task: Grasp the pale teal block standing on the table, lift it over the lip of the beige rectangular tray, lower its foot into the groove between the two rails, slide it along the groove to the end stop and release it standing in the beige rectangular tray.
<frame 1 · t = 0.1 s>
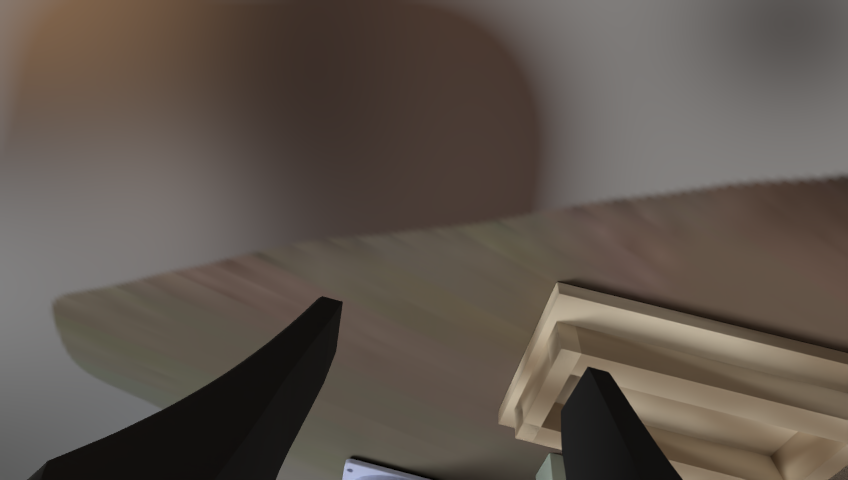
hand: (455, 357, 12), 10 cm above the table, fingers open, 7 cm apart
beige rectangular tray: (665, 389, 25), on the table
pale teal block: (597, 477, 30), on the table
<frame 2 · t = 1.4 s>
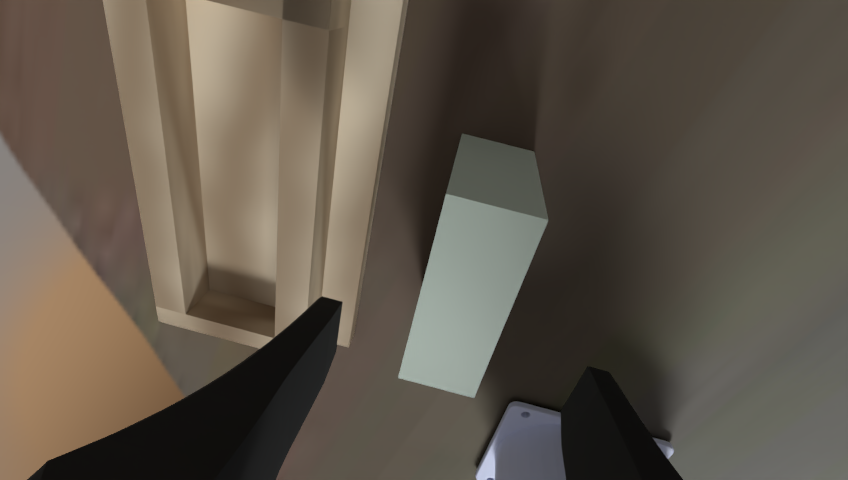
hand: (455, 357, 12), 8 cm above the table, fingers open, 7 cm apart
beige rectangular tray: (259, 171, 19), on the table
pale teal block: (472, 225, 19), on the table
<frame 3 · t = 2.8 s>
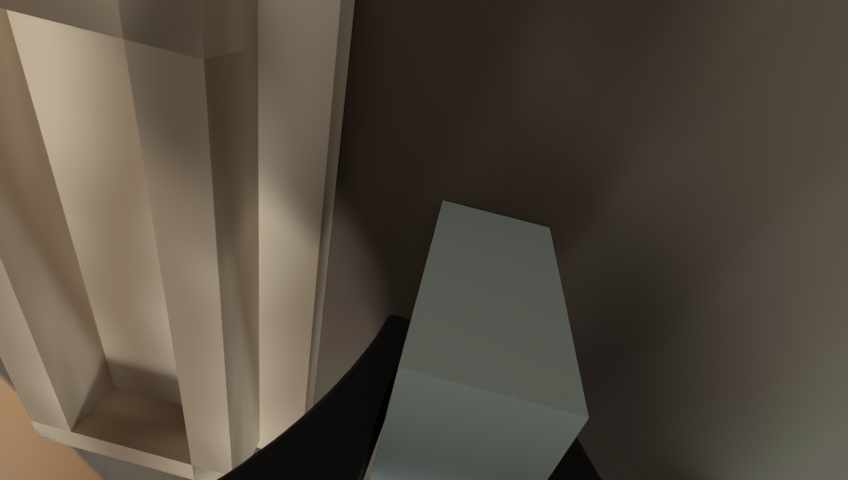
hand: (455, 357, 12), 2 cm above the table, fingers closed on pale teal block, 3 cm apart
beige rectangular tray: (163, 242, 14), on the table
pale teal block: (459, 320, 14), on the table, touching gripper
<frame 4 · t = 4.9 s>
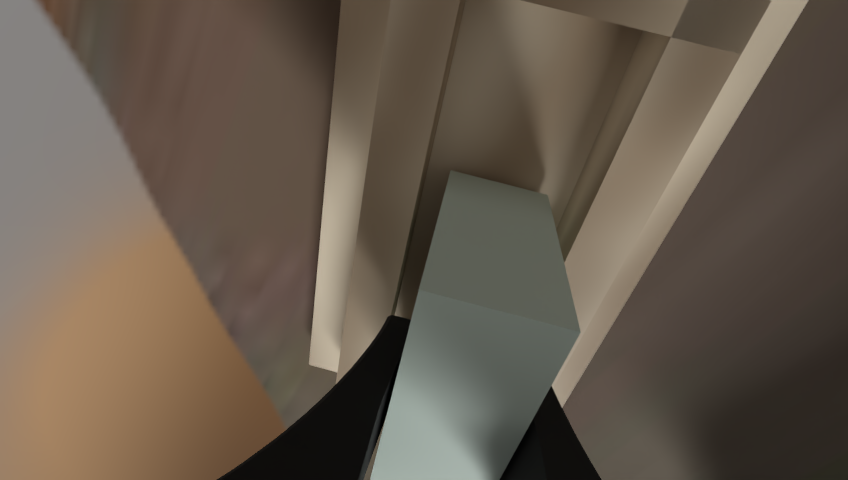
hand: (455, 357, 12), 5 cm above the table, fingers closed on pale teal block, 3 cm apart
beige rectangular tray: (481, 224, 15), on the table
pale teal block: (465, 285, 15), point 2 cm above the table, touching gripper
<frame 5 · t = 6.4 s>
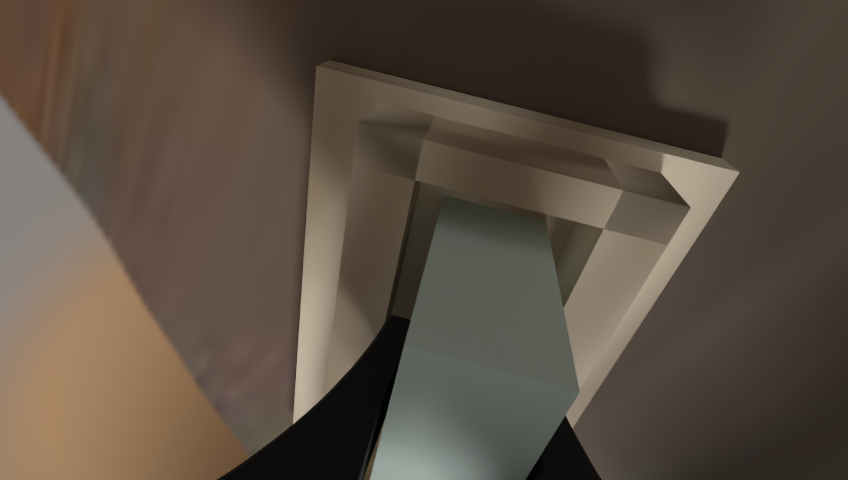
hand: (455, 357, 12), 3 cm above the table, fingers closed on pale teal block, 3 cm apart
beige rectangular tray: (450, 330, 16), on the table
pale teal block: (460, 311, 14), point 1 cm above the table, touching gripper, beige rectangular tray
when the fingers open (3 cm above the table, at t = 7.2 s): pale teal block stays where it is, resting on beige rectangular tray.
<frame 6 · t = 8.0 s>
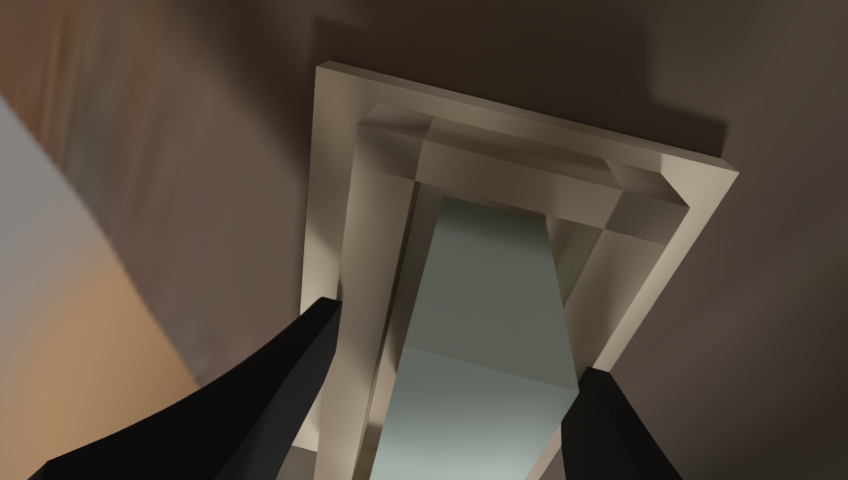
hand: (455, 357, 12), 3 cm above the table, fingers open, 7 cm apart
beige rectangular tray: (450, 330, 16), on the table
pale teal block: (460, 311, 14), point 1 cm above the table, touching beige rectangular tray
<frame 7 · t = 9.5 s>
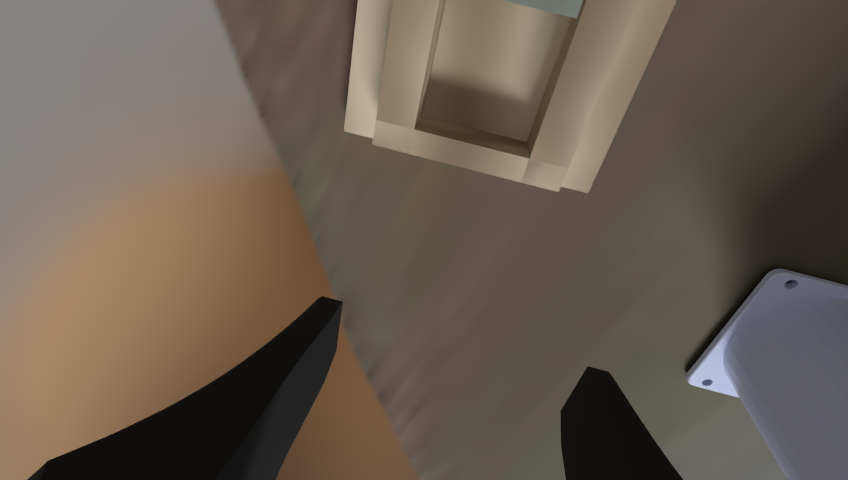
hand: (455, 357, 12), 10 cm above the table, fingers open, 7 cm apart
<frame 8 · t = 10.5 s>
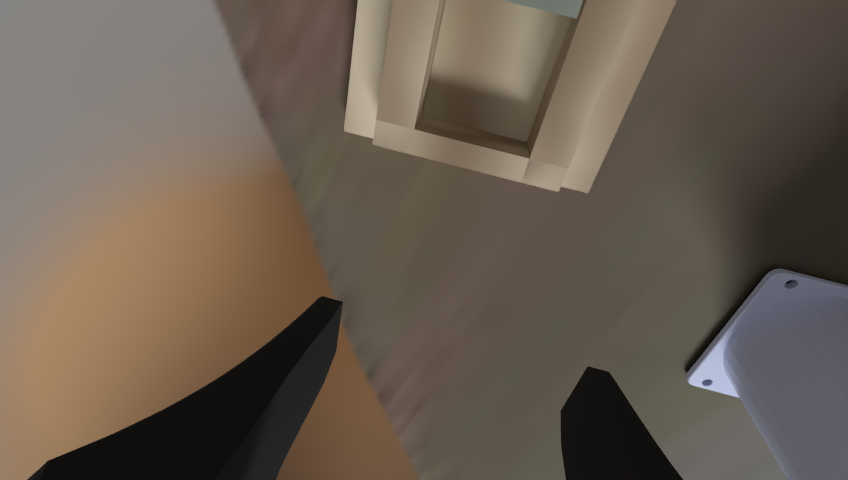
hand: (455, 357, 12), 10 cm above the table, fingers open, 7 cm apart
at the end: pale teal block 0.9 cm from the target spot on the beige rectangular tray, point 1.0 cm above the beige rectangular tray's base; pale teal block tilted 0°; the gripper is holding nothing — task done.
